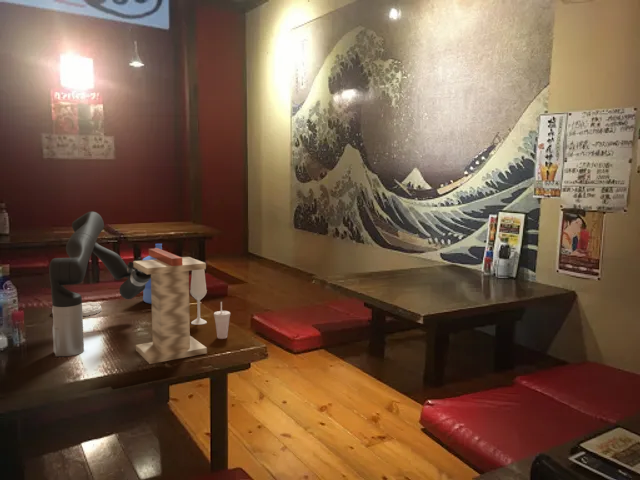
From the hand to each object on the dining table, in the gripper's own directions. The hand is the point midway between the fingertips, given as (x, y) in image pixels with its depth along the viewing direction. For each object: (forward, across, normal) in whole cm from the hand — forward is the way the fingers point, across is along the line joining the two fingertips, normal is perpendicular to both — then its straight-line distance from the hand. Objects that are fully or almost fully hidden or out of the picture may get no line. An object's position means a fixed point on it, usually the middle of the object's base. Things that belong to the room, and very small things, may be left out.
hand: (151, 259), depth 200 cm
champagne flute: (-24, +22, +21) cm, 39 cm away
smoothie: (-3, +22, +34) cm, 40 cm away
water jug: (-63, +20, -2) cm, 67 cm away
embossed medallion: (-61, -18, 0) cm, 64 cm away
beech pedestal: (+2, 0, +36) cm, 36 cm away
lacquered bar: (+14, 0, +6) cm, 15 cm away
